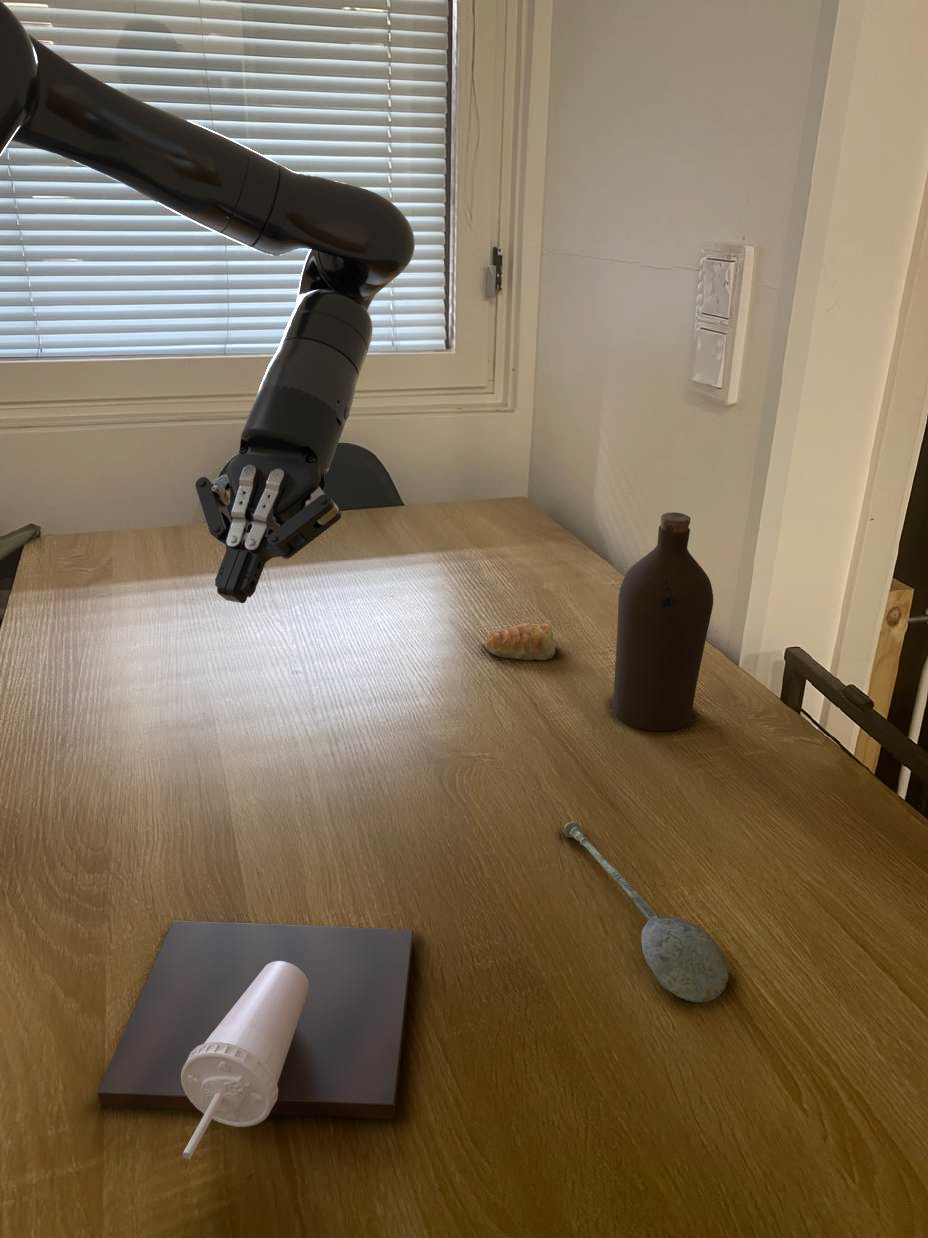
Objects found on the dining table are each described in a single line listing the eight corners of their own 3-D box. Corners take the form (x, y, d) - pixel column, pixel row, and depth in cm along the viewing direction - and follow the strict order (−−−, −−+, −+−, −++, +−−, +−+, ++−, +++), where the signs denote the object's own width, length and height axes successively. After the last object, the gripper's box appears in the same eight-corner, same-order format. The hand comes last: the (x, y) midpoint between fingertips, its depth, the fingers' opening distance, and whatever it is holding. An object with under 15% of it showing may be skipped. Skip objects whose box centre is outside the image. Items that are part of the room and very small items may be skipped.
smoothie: (228, 969, 67) (123, 1135, 55) (283, 932, 65) (186, 1098, 52) (287, 1027, 68) (197, 1204, 56) (344, 993, 66) (263, 1170, 53)
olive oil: (713, 727, 108) (745, 527, 97) (633, 742, 104) (657, 536, 94) (667, 685, 117) (691, 498, 106) (592, 697, 114) (610, 505, 103)
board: (100, 1108, 62) (97, 1093, 61) (174, 934, 76) (172, 920, 76) (394, 1120, 61) (393, 1105, 61) (413, 943, 76) (413, 929, 75)
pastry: (489, 663, 121) (489, 638, 119) (481, 641, 127) (482, 616, 126) (557, 660, 122) (559, 635, 121) (547, 639, 128) (548, 614, 127)
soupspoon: (672, 1021, 70) (740, 998, 73) (680, 989, 69) (749, 967, 71) (540, 841, 88) (599, 827, 90) (545, 813, 86) (604, 800, 89)
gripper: (212, 375, 74) (133, 565, 69) (357, 390, 70) (285, 593, 65) (252, 426, 81) (183, 603, 76) (387, 442, 77) (324, 630, 72)
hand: (230, 598), depth 71 cm, fingers closed
